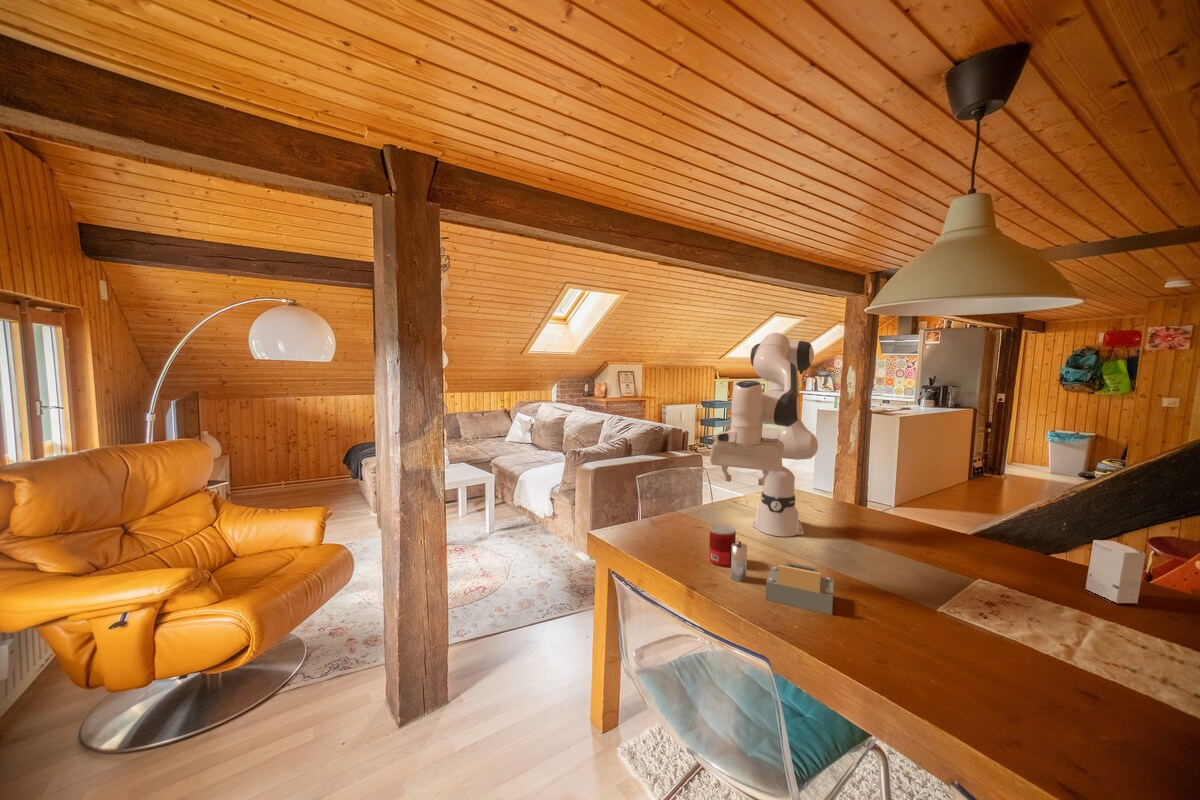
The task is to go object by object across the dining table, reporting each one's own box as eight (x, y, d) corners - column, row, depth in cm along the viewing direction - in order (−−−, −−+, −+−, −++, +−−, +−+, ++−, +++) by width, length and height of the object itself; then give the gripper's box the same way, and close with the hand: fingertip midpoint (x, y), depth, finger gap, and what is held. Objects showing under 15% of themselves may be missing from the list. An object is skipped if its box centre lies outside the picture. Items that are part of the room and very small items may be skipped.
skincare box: (1084, 590, 129) (1089, 539, 128) (1106, 590, 129) (1111, 539, 127) (1118, 606, 120) (1123, 551, 119) (1141, 606, 120) (1146, 551, 119)
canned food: (735, 568, 142) (736, 533, 142) (709, 566, 144) (710, 532, 143) (733, 558, 150) (734, 525, 149) (708, 556, 152) (709, 523, 151)
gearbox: (771, 583, 132) (772, 550, 132) (832, 597, 125) (834, 561, 124) (765, 599, 124) (766, 563, 123) (832, 614, 116) (833, 576, 115)
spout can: (732, 573, 139) (733, 537, 138) (747, 576, 137) (748, 539, 136) (729, 579, 135) (730, 542, 134) (744, 583, 133) (745, 545, 132)
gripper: (785, 438, 132) (783, 485, 133) (714, 432, 141) (713, 477, 142) (782, 440, 126) (780, 490, 127) (709, 434, 136) (707, 480, 137)
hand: (744, 483), depth 135 cm, fingers open, 8 cm apart
